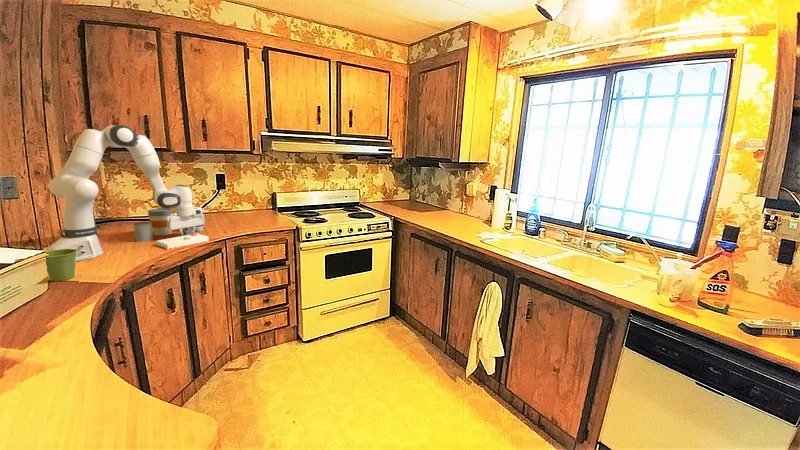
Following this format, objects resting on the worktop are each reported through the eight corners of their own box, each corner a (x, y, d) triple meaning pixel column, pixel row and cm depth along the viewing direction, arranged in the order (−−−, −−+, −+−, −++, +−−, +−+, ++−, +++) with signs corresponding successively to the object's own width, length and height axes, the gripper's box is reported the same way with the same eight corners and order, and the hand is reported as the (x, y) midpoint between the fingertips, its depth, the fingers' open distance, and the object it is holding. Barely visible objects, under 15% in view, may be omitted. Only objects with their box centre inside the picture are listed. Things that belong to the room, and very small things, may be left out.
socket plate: (167, 249, 190) (167, 243, 189) (156, 245, 197) (155, 239, 196) (208, 240, 208) (208, 235, 207) (197, 237, 215) (196, 232, 214)
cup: (144, 242, 202) (142, 225, 200) (132, 241, 204) (129, 224, 202) (157, 238, 210) (155, 222, 208) (145, 237, 212) (143, 221, 210)
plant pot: (75, 281, 144) (70, 255, 142) (37, 285, 140) (31, 258, 137) (87, 272, 155) (82, 247, 152) (51, 275, 150) (46, 249, 148)
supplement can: (203, 228, 237) (201, 206, 234) (205, 231, 230) (202, 208, 227) (189, 229, 232) (187, 207, 229) (190, 232, 226) (188, 209, 223)
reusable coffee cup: (173, 234, 219) (170, 211, 216) (149, 236, 214) (145, 212, 210) (175, 230, 230) (172, 207, 227) (152, 232, 224) (149, 208, 221)
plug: (186, 238, 212) (185, 229, 211) (182, 237, 215) (181, 228, 214) (193, 237, 215) (192, 228, 214) (189, 235, 218) (188, 227, 217)
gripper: (168, 215, 201) (171, 238, 204) (205, 210, 218) (207, 232, 221) (163, 213, 205) (166, 237, 208) (199, 209, 221) (201, 230, 224)
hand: (187, 234), depth 215 cm, fingers closed on plug, 4 cm apart
